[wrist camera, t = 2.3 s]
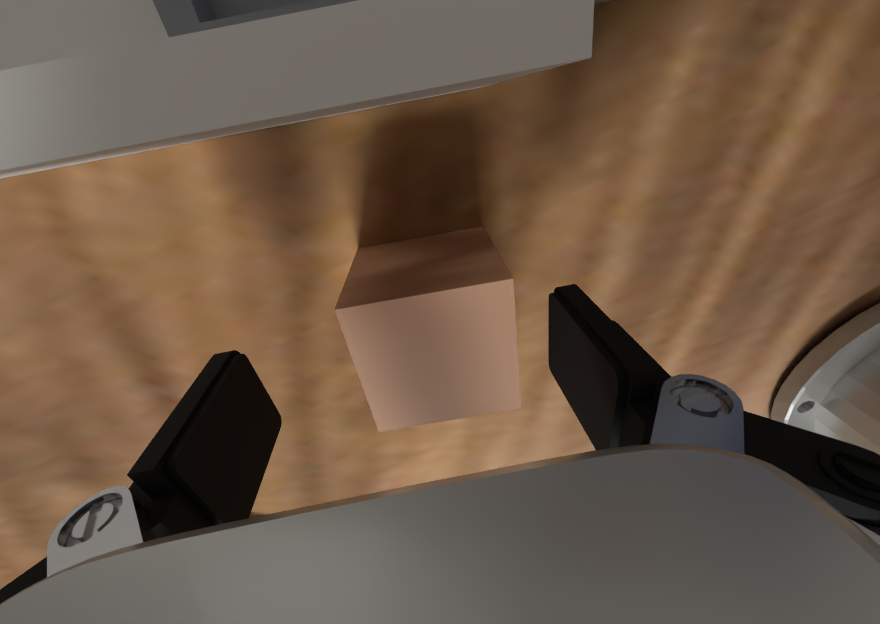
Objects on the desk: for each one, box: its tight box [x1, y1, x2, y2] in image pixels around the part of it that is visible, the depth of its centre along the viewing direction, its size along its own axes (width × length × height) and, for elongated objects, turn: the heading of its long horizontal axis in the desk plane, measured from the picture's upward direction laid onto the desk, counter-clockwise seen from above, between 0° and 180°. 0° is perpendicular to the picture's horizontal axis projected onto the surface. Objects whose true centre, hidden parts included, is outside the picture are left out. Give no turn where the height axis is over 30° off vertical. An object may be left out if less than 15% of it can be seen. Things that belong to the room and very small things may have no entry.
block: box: [335, 226, 521, 432], centre depth 13 cm, size 5×5×5 cm
